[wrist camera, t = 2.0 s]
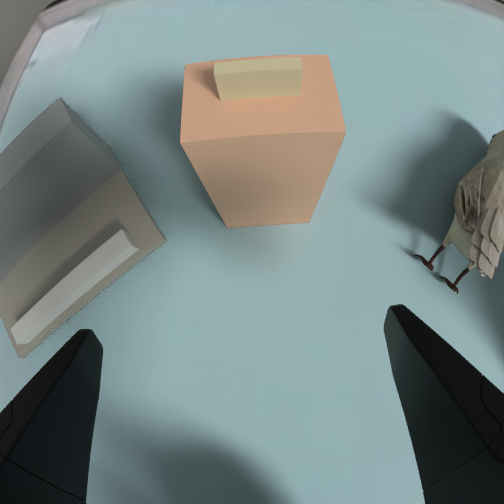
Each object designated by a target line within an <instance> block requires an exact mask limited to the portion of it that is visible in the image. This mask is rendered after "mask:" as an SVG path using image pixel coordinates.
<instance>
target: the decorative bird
mask: <svg viewBox="0 0 504 504" xmlns="http://www.w3.org/2000/svg"><path fill="white" fill-rule="evenodd" d="M454 209H455V216H454V220H453V223H452V225H451V227H450V229H449V231H448V233H447V235H446V237H445V239H444V240H443V243H442V246H440V247H439V248H438V250H437V251H436V252H435V253H434V255H433V256H432V258H431V259H430V260H429V262H428V261H427V260H426V259H425V258H424V257H422V256H420V255H415V256H419V257H420V258H421V259H422V262H423V264H424V265H425V266H427V267H428V268H429V269H430V270H431V271H432V270H433V268H434V267H433V265H432V264H431V263H432V262H433V261H434V259H435V258H436V256H437V255H438V254H439V253H440V252H441V251H442V250H443V249H444V248H445V247H447V246H448V245H449V244H450V243H454V245H455V246H456V248H457V249H458V250H459V251H460V252H461V253H462V254H463V255H464V256H465V257H466V258H467V259H469V264H468V266H467V268H466V269H465V270H464V271H463V272H462V273H461V274H460V275H459V277H458V278H457V279H456V281H455V282H454V283H453V284H452V283H451V282H450V281H449V280H448V279H447V278H445V277H442V276H441V277H440V278H443V279H445V281H446V282H447V285H448V286H449V287H450V288H451V289H452V290H453V291H454V292H455V291H457V293H458V288H457V287H456V285H457V284H458V282H459V281H460V279H461V278H462V277H463V276H464V275H465V274H466V273H467V272H469V270H472V269H473V268H474V267H475V266H477V269H478V271H479V272H481V276H483V277H484V276H485V274H486V275H488V276H489V278H490V279H492V277H493V274H494V270H495V267H496V268H497V266H498V262H499V257H500V254H501V253H502V251H503V249H504V130H503V131H501V132H498V133H497V134H495V135H493V136H492V139H491V141H490V143H489V146H488V150H487V155H486V156H485V158H484V159H483V160H482V161H481V162H479V163H478V164H477V165H476V166H475V167H473V168H472V169H471V170H470V171H469V172H468V173H467V174H466V175H465V176H463V177H462V179H461V180H460V182H459V183H458V186H457V189H456V193H455V197H454Z"/></svg>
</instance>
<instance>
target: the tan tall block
mask: <svg viewBox="0 0 504 504" xmlns="http://www.w3.org/2000/svg"><path fill="white" fill-rule="evenodd" d="M345 134H346V129H345V124H344V119H343V115H342V110H341V106H340V101H339V97H338V93H337V89H336V85H335V81H334V77H333V73H332V69H331V65H330V61H329V58H328V55H277V56H258V57H244V58H233V59H223V60H215V61H207V62H200V63H193V64H186V65H185V73H184V86H183V100H182V116H181V134H180V144H181V145H182V147H183V149H184V151H185V153H186V155H187V156H188V158H189V160H190V162H191V164H192V165H193V167H194V169H195V171H196V173H197V174H198V176H199V178H200V180H201V182H202V183H203V185H204V187H205V189H206V191H207V193H208V194H209V196H210V198H211V200H212V202H213V203H214V205H215V207H216V209H217V211H218V212H219V214H220V216H221V218H222V219H223V221H224V223H225V225H226V227H227V228H233V227H248V226H263V225H279V224H296V223H309V221H310V219H311V217H312V214H313V212H314V210H315V207H316V205H317V203H318V200H319V198H320V195H321V193H322V191H323V188H324V186H325V183H326V181H327V179H328V176H329V174H330V171H331V169H332V166H333V164H334V161H335V159H336V156H337V154H338V151H339V149H340V146H341V144H342V141H343V139H344V136H345Z"/></svg>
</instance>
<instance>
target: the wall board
mask: <svg viewBox="0 0 504 504" xmlns="http://www.w3.org/2000/svg"><path fill="white" fill-rule="evenodd" d="M166 241H167V240H166V239H165V237H164V236H163V234H162V232H161V231H160V229H159V228H158V226H157V225H156V223H155V222H154V220H153V218H152V217H151V215H150V214H149V212H148V210H147V209H146V207H145V206H144V204H143V202H142V201H141V199H140V198H139V196H138V194H137V193H136V191H135V189H134V188H133V186H132V185H131V183H130V181H129V180H128V178H127V176H126V175H125V173H124V171H123V170H122V168H121V166H120V165H119V163H118V161H117V159H116V158H115V156H114V154H113V153H112V151H111V149H110V147H109V146H108V144H107V143H106V142H105V141H104V142H103V141H102V140H101V139H100V138H99V137H98V136H97V135H96V134H95V133H94V132H93V131H92V130H91V129H90V128H89V127H88V126H87V125H86V124H85V123H84V122H83V121H82V120H81V119H80V118H79V117H78V116H77V115H76V113H75V112H74V111H73V110H72V109H71V108H70V107H69V106H68V105H67V104H66V103H65V102H64V101H63V100H62V99H61V98H58V99H57V100H56V101H55V102H54V103H53V104H51V105H50V106H49V107H48V108H47V109H46V110H45V111H43V112H42V113H41V114H40V115H39V116H38V117H37V118H36V119H35V120H34V121H33V122H32V123H30V124H29V125H28V126H27V127H26V128H25V129H24V130H23V131H22V132H21V133H20V134H19V135H18V136H17V137H16V138H15V139H14V140H13V141H12V142H11V143H10V144H9V145H8V146H7V147H6V149H5V150H4V151H3V152H2V153H1V154H0V315H1V318H2V320H3V323H4V325H5V328H6V330H7V332H8V335H9V337H10V339H11V342H12V344H13V346H14V348H15V351H16V353H17V355H18V357H19V358H25V357H26V356H27V355H28V354H29V353H30V352H31V351H33V350H34V349H35V348H36V347H37V346H38V345H39V344H40V343H42V342H43V341H44V340H45V339H46V338H47V337H48V336H50V335H51V334H52V333H53V332H54V331H55V330H56V329H58V328H59V327H60V326H61V325H62V324H63V323H65V322H66V321H67V320H68V319H69V318H71V317H72V316H73V315H74V314H75V313H76V312H78V311H79V310H80V309H81V308H82V307H84V306H85V305H86V304H87V303H88V302H90V301H91V300H92V299H93V298H95V297H96V296H97V295H98V294H99V293H101V292H102V291H103V290H104V289H106V288H107V287H108V286H109V285H111V284H112V283H113V282H114V281H116V280H117V279H118V278H119V277H121V276H122V275H123V274H124V273H126V272H127V271H128V270H129V269H131V268H132V267H133V266H135V265H136V264H137V263H138V262H140V261H141V260H142V259H144V258H145V257H146V256H147V255H149V254H150V253H151V252H153V251H154V250H155V249H157V248H158V247H159V246H160V245H162V244H163V243H164V242H166Z"/></svg>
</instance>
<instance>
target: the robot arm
mask: <svg viewBox="0 0 504 504" xmlns="http://www.w3.org/2000/svg"><path fill="white" fill-rule="evenodd" d="M384 334H385V338H386V343H387V348H388V353H389V358H390V363H391V368H392V373H393V377H394V381H395V384H396V388H397V391H398V394H399V398H400V401H401V404H402V408H403V411H404V415H405V419H406V422H407V426H408V430H409V434H410V437H411V441H412V445H413V449H414V453H415V457H416V462H417V466H418V470H419V475H420V479H421V484H422V489H423V494H424V499H425V504H504V393H503V392H501V391H500V390H499V389H498V388H497V387H496V386H495V385H494V384H492V383H491V382H490V381H489V380H488V379H487V378H486V377H485V376H484V375H482V373H480V372H479V371H478V370H477V369H476V368H475V367H474V366H473V365H472V364H471V363H470V362H468V361H467V360H466V359H465V358H464V357H463V356H462V355H461V354H460V353H459V352H457V351H456V350H455V349H454V348H453V347H452V346H451V345H450V344H448V343H447V342H446V341H445V340H444V339H443V338H442V337H440V336H439V335H438V334H437V333H436V332H435V331H434V330H432V329H431V328H430V327H429V326H428V325H427V324H425V323H424V322H423V321H422V320H421V319H420V318H418V317H417V316H416V315H415V314H414V313H413V312H411V311H410V310H409V309H408V308H407V307H406V306H404V305H402V304H398V305H391V306H390V307H389V308H388V311H387V315H386V319H385V322H384ZM102 358H103V347H102V345H101V343H100V341H99V340H98V338H97V337H96V335H95V334H94V332H93V331H92V330H91V329H80V330H79V331H77V332H76V333H75V334H74V335H73V336H72V337H71V338H70V339H69V340H68V341H67V342H66V343H65V344H64V345H63V346H62V348H61V349H60V350H59V351H58V352H57V353H56V354H55V355H54V356H53V357H52V358H51V359H50V360H49V361H48V362H47V363H46V364H45V365H44V366H43V367H42V368H41V369H40V370H39V371H38V372H37V373H36V375H35V376H34V377H33V378H32V379H31V380H30V381H29V382H28V383H27V384H26V385H25V386H24V387H23V388H22V390H21V391H20V392H19V393H18V394H17V395H16V396H15V397H14V398H13V400H12V401H11V402H10V403H9V404H8V405H7V406H6V407H5V408H4V409H3V410H2V411H1V413H0V504H86V496H87V483H88V472H89V462H90V453H91V445H92V438H93V430H94V423H95V417H96V411H97V405H98V399H99V391H100V380H101V368H102Z"/></svg>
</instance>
